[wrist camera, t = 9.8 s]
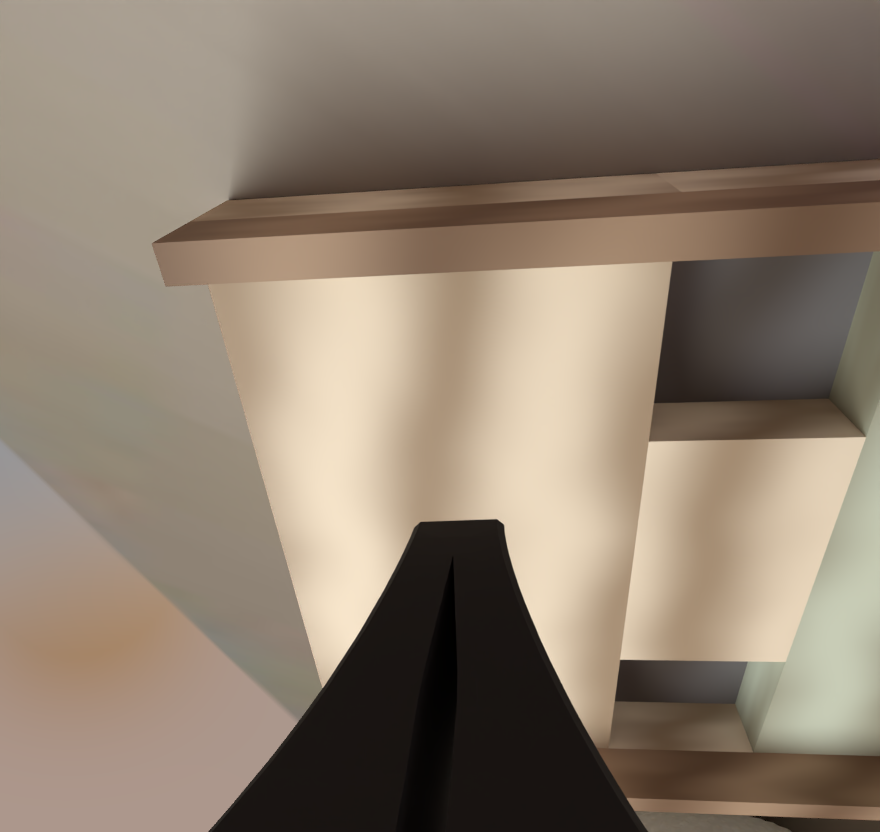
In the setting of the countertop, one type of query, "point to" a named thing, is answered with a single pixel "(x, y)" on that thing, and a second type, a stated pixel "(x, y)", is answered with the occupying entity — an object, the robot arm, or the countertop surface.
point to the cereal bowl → (705, 823)
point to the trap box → (595, 443)
